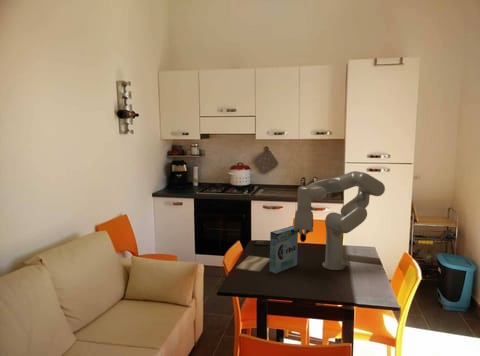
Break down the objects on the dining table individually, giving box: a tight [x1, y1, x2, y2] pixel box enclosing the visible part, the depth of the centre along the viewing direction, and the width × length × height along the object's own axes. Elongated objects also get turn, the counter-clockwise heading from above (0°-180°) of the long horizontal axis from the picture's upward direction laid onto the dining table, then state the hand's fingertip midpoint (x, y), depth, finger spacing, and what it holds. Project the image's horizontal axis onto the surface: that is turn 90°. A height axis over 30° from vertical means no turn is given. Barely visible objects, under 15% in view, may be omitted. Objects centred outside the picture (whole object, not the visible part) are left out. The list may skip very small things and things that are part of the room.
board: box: [235, 255, 270, 273], centre depth 218 cm, size 14×22×1 cm, turn 158°
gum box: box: [269, 225, 299, 274], centre depth 210 cm, size 20×5×23 cm, turn 134°
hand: (302, 241), depth 205 cm, fingers closed
